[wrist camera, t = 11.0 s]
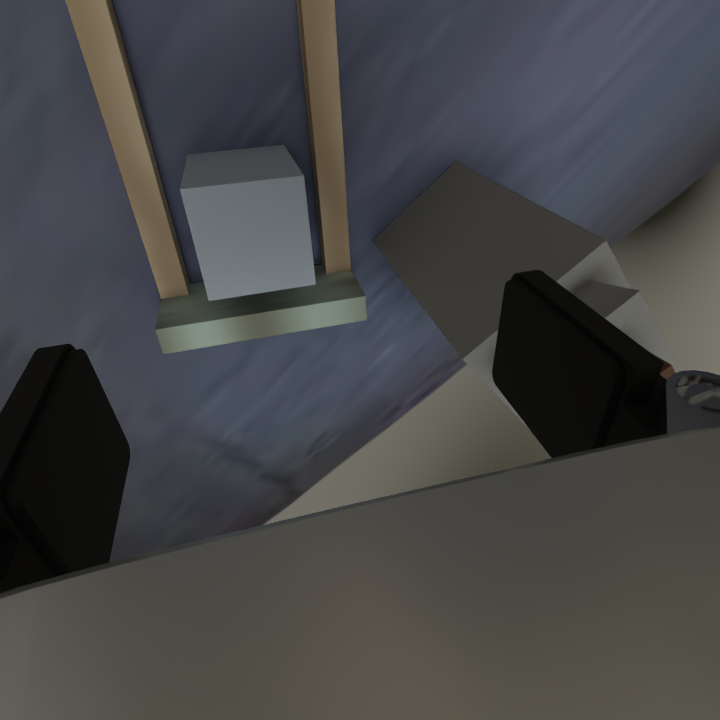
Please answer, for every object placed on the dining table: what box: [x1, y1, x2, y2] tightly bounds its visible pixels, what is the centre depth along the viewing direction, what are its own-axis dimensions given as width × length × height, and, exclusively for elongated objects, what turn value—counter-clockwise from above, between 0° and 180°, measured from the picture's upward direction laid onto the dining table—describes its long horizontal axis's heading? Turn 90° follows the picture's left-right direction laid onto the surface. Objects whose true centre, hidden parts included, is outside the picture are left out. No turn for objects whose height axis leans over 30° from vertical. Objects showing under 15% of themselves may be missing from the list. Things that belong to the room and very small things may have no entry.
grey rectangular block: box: [180, 145, 316, 301], centre depth 24 cm, size 5×5×7 cm
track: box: [65, 0, 367, 354], centre depth 20 cm, size 11×28×5 cm, turn 3°
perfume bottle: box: [372, 161, 680, 426], centre depth 24 cm, size 7×7×18 cm
